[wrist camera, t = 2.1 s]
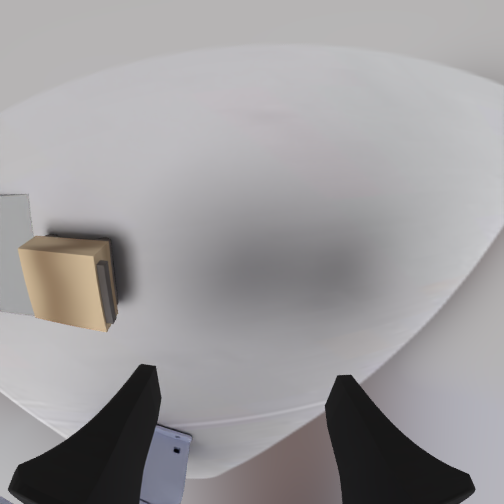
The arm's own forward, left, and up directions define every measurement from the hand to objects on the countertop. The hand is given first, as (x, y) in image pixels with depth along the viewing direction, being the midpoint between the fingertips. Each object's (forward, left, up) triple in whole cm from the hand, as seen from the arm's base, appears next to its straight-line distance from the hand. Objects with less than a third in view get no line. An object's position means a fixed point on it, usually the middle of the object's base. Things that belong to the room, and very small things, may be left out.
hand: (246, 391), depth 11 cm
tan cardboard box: (+11, +4, -9) cm, 15 cm away
